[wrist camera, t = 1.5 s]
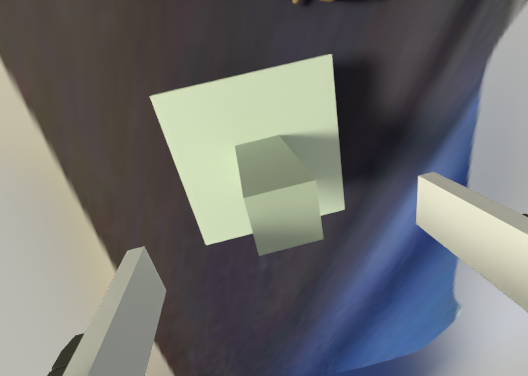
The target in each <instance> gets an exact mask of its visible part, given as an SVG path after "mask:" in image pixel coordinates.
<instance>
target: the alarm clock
mask: <svg viewBox="0 0 528 376" xmlns="http://www.w3.org/2000/svg"><path fill="white" fill-rule="evenodd" d="M298 1H299V0H293V1H292V2H293V3H294V4H297V3H298ZM321 1H329V2H331V1H335V0H321Z"/></svg>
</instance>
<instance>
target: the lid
mask: <svg viewBox="0 0 528 376" xmlns="http://www.w3.org/2000/svg"><path fill="white" fill-rule="evenodd" d="M150 99H151V101H152V104H153V107H154V109H155V112H156V114H157V117H158V120H159V122H160V125H161V128H162V130H163V133H164V136H165V138H166V141H167V143H168V146H169V149H170V151H171V154H172V157H173V159H174V162H175V165H176V167H177V170H178V173H179V175H180V178H181V180H182V183H183V186H184V188H185V191H186V194H187V196H188V199H189V202H190V204H191V207H192V209H193V212H194V215H195V217H196V220H197V223H198V225H199V228H200V231H201V233H202V236H203V239H204V241H205V244H206V245H209V244H213V243H217V242H221V241H225V240H229V239H232V238H236V237H240V236H244V235H248V234H252V233H253V235H254V239H255V242H256V246H257V250H258V253H259V256H260V255H264V254H268V253H272V252H276V251H279V250H283V249H287V248H291V247H295V246H298V245H302V244H306V243H310V242H314V241H317V240H321V239H323V232H322V224H321V217H320V216H321V215H325V214H329V213H333V212H337V211H341V210H345V207H344V195H343V183H342V171H341V158H340V146H339V134H338V122H337V110H336V98H335V86H334V74H333V61H332V54H328V55H322V56H318V57H314V58H309V59H305V60H301V61H297V62H292V63H288V64H284V65H279V66H275V67H271V68H266V69H262V70H258V71H253V72H249V73H245V74H241V75H236V76H232V77H228V78H223V79H219V80H215V81H210V82H206V83H202V84H197V85H193V86H189V87H185V88H180V89H176V90H172V91H167V92H163V93H159V94H154V95H152V96H150Z"/></svg>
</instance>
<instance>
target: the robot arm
mask: <svg viewBox="0 0 528 376" xmlns="http://www.w3.org/2000/svg"><path fill="white" fill-rule="evenodd" d="M416 224H417V225H418V226H420V227H421V228H422V229H423V230H425V231H426V232H427V233H428V234H430V235H431V236H432V237H433V238H435V239H436V240H437V241H438V242H440V243H441V244H442V245H443V246H445V247H446V248H447V249H449V250H450V251H451V252H452V253H454V254H455V255H456V256H457V257H459V258H460V259H461V260H462V261H464V262H465V263H466V264H467V265H469V266H470V267H471V268H472V269H474V270H475V271H476V272H478V273H479V274H480V275H481V276H483V277H484V278H485V279H486V280H488V281H489V282H490V283H491V284H493V285H494V286H495V287H496V288H498V289H499V290H500V291H501V292H503V293H504V294H505V295H507V296H508V297H509V298H510V299H512V300H513V301H514V302H515V303H517V304H518V305H519V306H521V307H522V308H523V309H524V310H526V311H527V312H528V215H527V214H520V213H518V212H516V211H514V210H512V209H510V208H508V207H505V206H503V205H501V204H499V203H497V202H495V201H493V200H491V199H489V198H487V197H485V196H483V195H480V194H478V193H476V192H474V191H472V190H470V189H468V188H466V187H464V186H462V185H460V184H458V183H456V182H454V181H452V180H450V179H447V178H445V177H443V176H441V175H439V174H437V173H435V172H431V173H427V174H423V175H419V176H418V194H417V215H416ZM165 293H166V289H165V287H164V285H163V283H162V281H161V279H160V277H159V275H158V273H157V271H156V269H155V267H154V265H153V263H152V261H151V259H150V257H149V255H148V253H147V251H146V249H145V247H140V248H136V249H132V250H128V251H127V253H126V254H125V256H124V258H123V260H122V262H121V264H120V266H119V268H118V270H117V272H116V274H115V276H114V278H113V279H112V281H111V283H110V285H109V287H108V289H107V291H106V293H105V295H104V297H103V299H102V301H101V303H100V305H99V306H98V309H97V310H96V312H95V314H94V316H93V318H92V320H91V322H90V324H89V326H88V328H87V330H86V331H85V333H84V334H79V335H76V336H75V337H74V338H73V339H72V340H71V341H70V342H69V344H68V345H67V346H66V347H65V348H64V349H63V350H62V351H61V353H60V355H59V357H58V358H57V360H56V362H55V363H54V365H53V367H52V371H51V372H49V374H48V376H145V372H146V369H147V365H148V361H149V357H150V353H151V349H152V345H153V341H154V337H155V333H156V329H157V325H158V321H159V317H160V313H161V309H162V305H163V301H164V297H165Z"/></svg>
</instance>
